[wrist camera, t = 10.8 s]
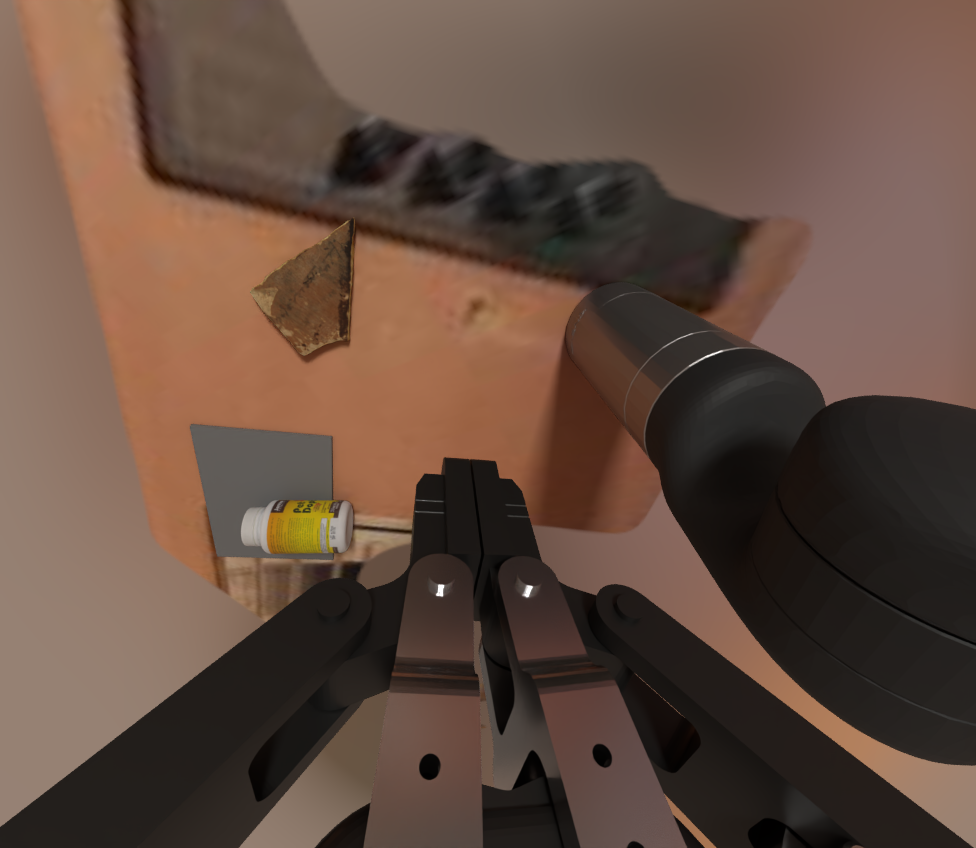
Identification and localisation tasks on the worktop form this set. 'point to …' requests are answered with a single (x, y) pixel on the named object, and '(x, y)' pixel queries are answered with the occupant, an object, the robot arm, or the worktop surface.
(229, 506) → the mat
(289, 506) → the supplement bottle
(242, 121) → the worktop surface
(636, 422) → the robot arm
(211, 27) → the worktop surface
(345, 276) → the shard
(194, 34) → the worktop surface
